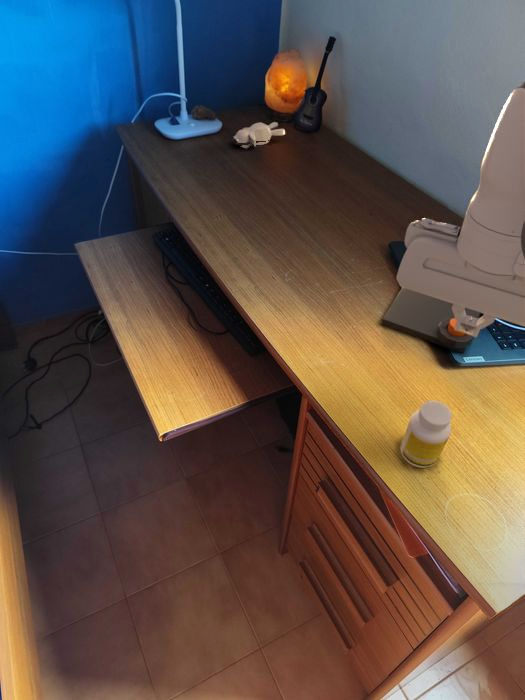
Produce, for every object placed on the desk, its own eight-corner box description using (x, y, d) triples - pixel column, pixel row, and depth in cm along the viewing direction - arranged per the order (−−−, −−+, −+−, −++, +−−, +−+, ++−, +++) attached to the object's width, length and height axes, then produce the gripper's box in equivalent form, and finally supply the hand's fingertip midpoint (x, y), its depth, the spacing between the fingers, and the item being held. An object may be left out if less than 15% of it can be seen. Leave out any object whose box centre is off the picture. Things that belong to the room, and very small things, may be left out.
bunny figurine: (229, 127, 142) (274, 114, 144) (232, 144, 146) (275, 130, 148) (239, 139, 136) (286, 124, 138) (242, 156, 140) (287, 141, 142)
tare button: (467, 328, 81) (470, 321, 80) (462, 339, 80) (465, 332, 78) (450, 323, 83) (452, 315, 81) (445, 333, 81) (447, 325, 80)
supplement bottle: (442, 469, 66) (462, 430, 59) (403, 468, 66) (419, 429, 59) (433, 436, 69) (451, 396, 62) (396, 436, 70) (410, 395, 62)
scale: (484, 308, 89) (490, 296, 87) (464, 358, 80) (469, 346, 78) (406, 283, 95) (409, 271, 92) (379, 327, 86) (382, 315, 84)
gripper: (400, 227, 53) (381, 318, 62) (605, 282, 45) (546, 376, 55) (418, 202, 56) (398, 292, 66) (611, 249, 48) (554, 343, 58)
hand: (466, 331), depth 60 cm, fingers closed
